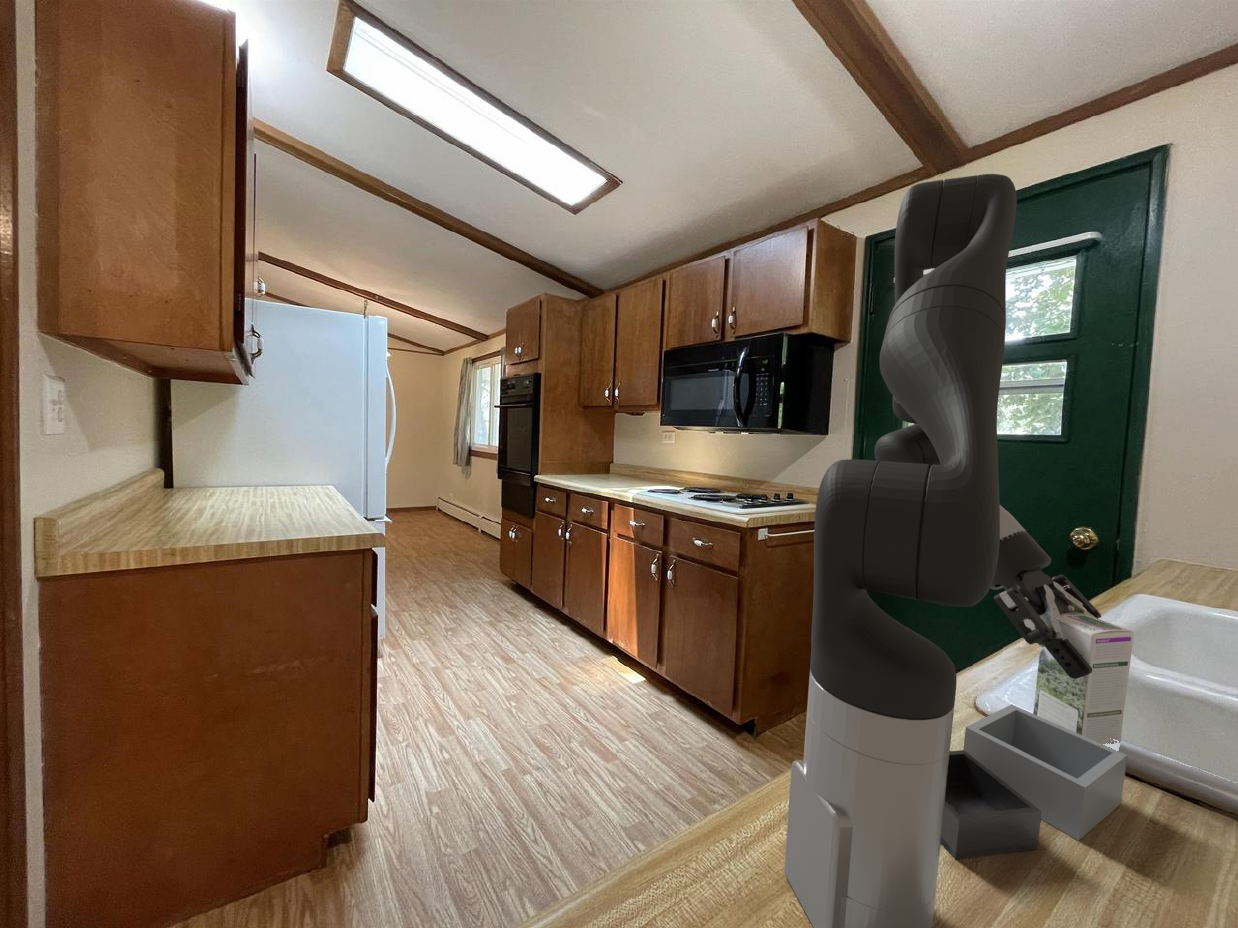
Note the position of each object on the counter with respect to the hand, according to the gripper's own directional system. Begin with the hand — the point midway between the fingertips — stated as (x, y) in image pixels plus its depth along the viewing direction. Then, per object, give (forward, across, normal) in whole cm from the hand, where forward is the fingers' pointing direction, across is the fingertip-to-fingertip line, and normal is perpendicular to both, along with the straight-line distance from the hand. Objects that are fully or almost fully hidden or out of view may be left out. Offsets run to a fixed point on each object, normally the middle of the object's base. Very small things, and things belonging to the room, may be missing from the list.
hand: (1099, 667), depth 57 cm
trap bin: (+6, -25, +8) cm, 27 cm away
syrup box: (+6, 0, +8) cm, 10 cm away
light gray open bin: (+7, -13, +6) cm, 16 cm away
